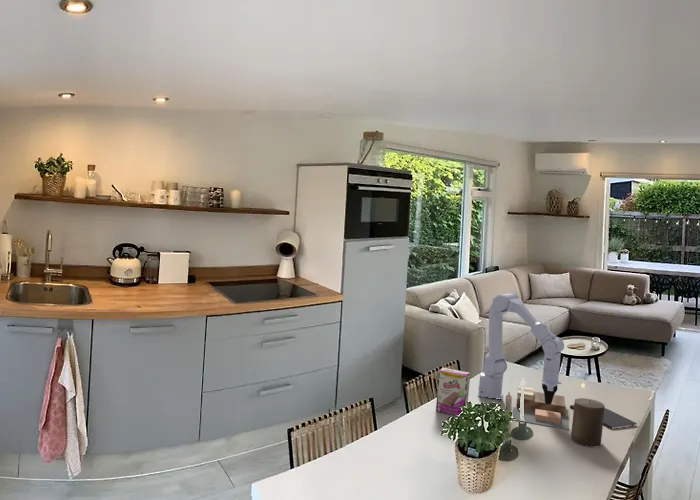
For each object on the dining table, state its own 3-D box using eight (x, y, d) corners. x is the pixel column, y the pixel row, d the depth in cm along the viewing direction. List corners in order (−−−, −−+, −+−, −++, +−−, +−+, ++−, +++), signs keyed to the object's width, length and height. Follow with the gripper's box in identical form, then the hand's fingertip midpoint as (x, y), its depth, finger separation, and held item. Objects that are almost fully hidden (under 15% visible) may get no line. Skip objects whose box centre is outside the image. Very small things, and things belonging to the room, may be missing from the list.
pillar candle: (598, 450, 182) (603, 406, 181) (568, 441, 187) (572, 399, 186) (602, 440, 191) (607, 398, 189) (573, 432, 196) (577, 392, 194)
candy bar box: (435, 412, 208) (438, 370, 206) (438, 407, 212) (441, 366, 211) (464, 418, 203) (467, 375, 201) (467, 413, 208) (470, 372, 206)
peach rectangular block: (535, 408, 210) (535, 413, 210) (535, 414, 205) (534, 419, 205) (560, 412, 207) (559, 418, 207) (560, 418, 202) (560, 423, 202)
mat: (511, 420, 204) (512, 419, 204) (513, 407, 216) (513, 407, 216) (569, 430, 197) (569, 429, 197) (567, 417, 210) (567, 416, 210)
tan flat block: (516, 408, 216) (517, 398, 215) (517, 398, 227) (518, 389, 227) (564, 416, 210) (565, 406, 209) (563, 405, 221) (564, 396, 221)
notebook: (569, 408, 220) (611, 431, 200) (569, 405, 220) (612, 426, 200) (594, 406, 224) (637, 427, 204) (594, 402, 224) (637, 423, 204)
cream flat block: (533, 400, 214) (533, 395, 214) (517, 397, 216) (517, 392, 216) (533, 393, 223) (533, 388, 223) (518, 390, 225) (518, 385, 225)
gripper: (563, 376, 201) (559, 411, 202) (561, 365, 214) (558, 398, 215) (542, 373, 203) (539, 408, 204) (542, 362, 216) (539, 395, 218)
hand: (548, 403), depth 210 cm, fingers closed
